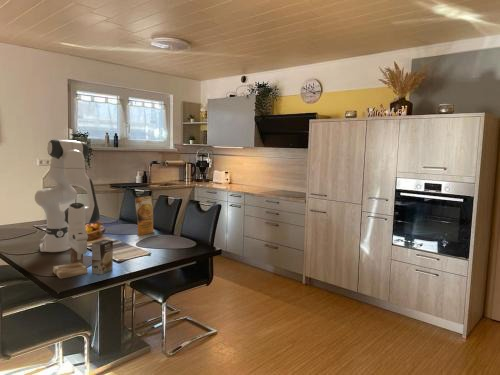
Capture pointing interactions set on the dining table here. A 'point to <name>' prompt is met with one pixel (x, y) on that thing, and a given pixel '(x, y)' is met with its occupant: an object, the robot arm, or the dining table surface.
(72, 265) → the base slab
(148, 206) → the pancake mix bag
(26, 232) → the dining table surface
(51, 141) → the robot arm
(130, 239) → the dining table surface
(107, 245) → the coffee box
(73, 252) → the walnut block
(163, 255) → the dining table surface
